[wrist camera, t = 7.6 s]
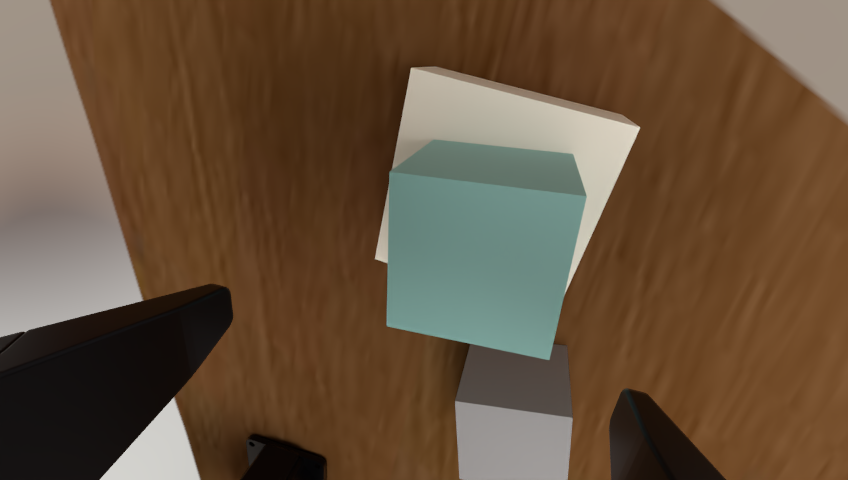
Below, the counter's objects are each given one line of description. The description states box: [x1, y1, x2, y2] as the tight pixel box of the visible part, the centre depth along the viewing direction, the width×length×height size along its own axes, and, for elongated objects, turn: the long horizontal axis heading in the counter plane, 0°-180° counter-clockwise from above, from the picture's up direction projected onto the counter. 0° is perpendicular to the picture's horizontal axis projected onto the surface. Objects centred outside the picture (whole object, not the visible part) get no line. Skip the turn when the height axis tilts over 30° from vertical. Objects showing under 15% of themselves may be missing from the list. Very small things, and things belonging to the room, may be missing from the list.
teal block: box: [387, 140, 587, 360], centre depth 14 cm, size 5×5×5 cm
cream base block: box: [375, 66, 640, 295], centre depth 18 cm, size 8×8×4 cm
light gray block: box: [455, 344, 573, 480], centre depth 21 cm, size 5×5×5 cm
